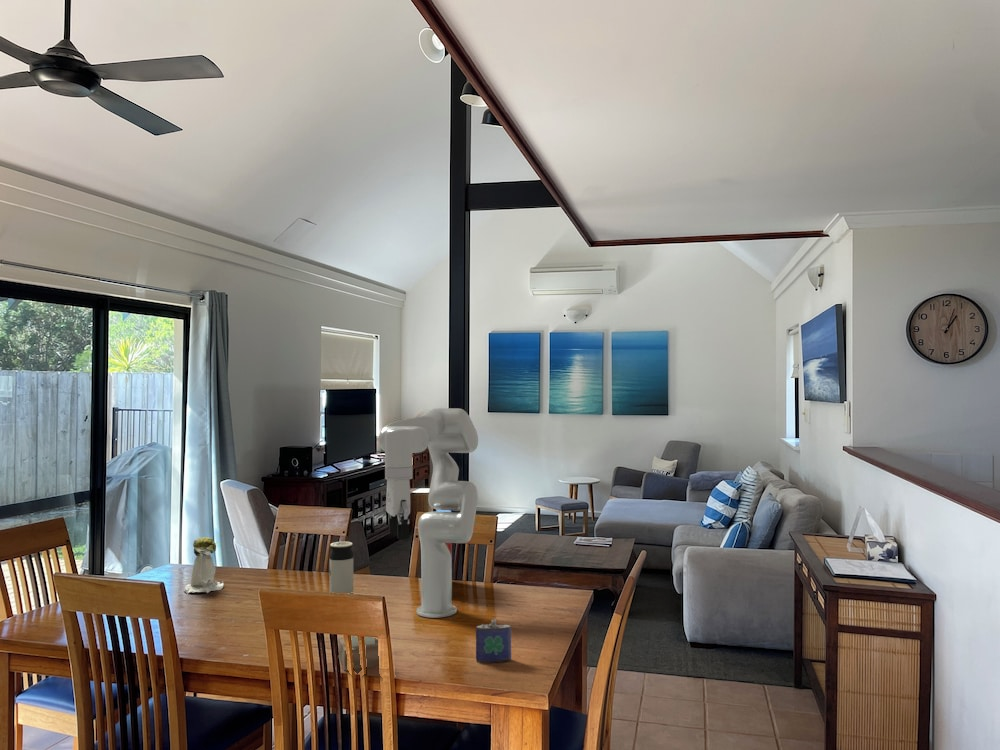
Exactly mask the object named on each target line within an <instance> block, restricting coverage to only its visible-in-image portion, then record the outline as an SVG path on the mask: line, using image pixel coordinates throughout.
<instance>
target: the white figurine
mask: <svg viewBox="0 0 1000 750" xmlns="http://www.w3.org/2000/svg"><path fill="white" fill-rule="evenodd" d="M217 543H218V542H215V541H214V539H213V538H212V537H210V536H207V537H202V536H201V537H199V538H196V539H195V540H194V541H193V543H192V546H193V548H194V549H193V553H194V555H195V556H196V557H195V558H194V562H193V567H192V573H191V579H190V583H189V584H186V585H185V586H184V590H183V591H184V592H185V593H186V594H187V595H188V594H190V593H206V594H208V593H210V592H211V591H214V592H215V591H220V590H222V589H223V588H224V581H223V580H222V581H218V580H215V579H214V577H215V573H216V572H217V571H216V566H215V563H214V559H213V557H212V555H211V554H214V553H216V551H217Z"/></svg>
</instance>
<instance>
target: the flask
mask: <svg viewBox="0 0 1000 750" xmlns="http://www.w3.org/2000/svg"><path fill="white" fill-rule="evenodd" d="M475 659H476V663H477V664H493V663H496V664H499V663H507V662H511V661H512V627H511V625H509V624H498V625H497V619H495V618H493V619H491V622H490V623H489V624H488V623H487V624H484V623H482V624H480V625H477V626H476V627H475Z"/></svg>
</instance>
